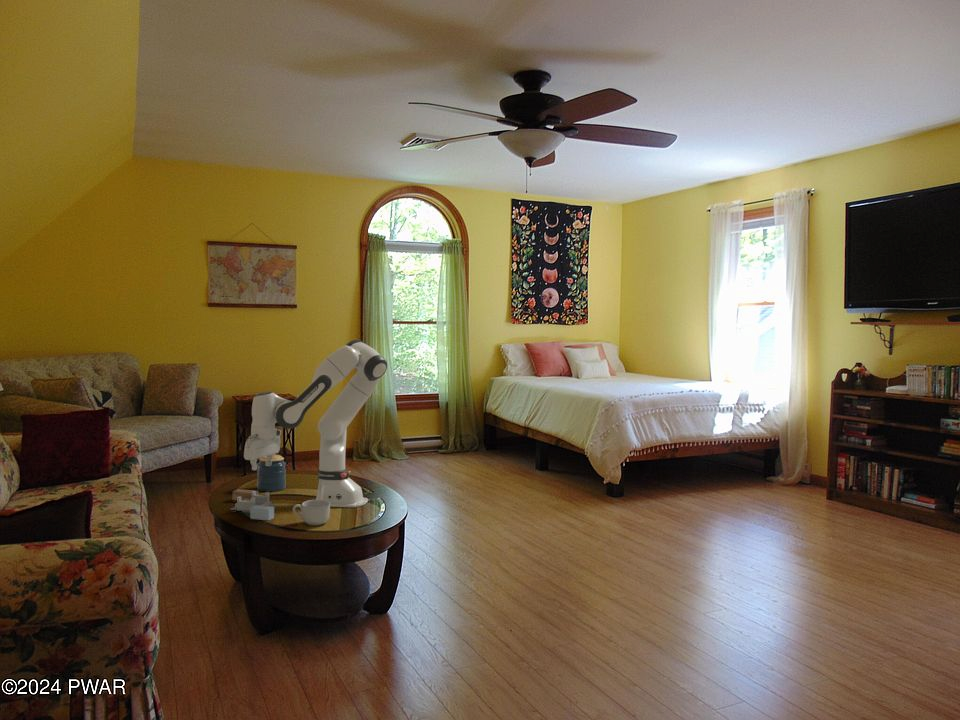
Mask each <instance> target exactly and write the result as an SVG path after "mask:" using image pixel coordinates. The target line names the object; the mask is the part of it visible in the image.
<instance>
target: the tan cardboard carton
mask: <svg viewBox="0 0 960 720" xmlns="http://www.w3.org/2000/svg"><path fill="white" fill-rule="evenodd" d="M252 491H254V490H253V489H252V490H251V489H250V490H249V489H239V488H237V489H235V490H233V491H232V501H233V500H237V497H241V501H244V500H251V498H252ZM255 491H256V495H259V490H255Z"/></svg>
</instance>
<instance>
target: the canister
mask: <svg viewBox="0 0 960 720" xmlns="http://www.w3.org/2000/svg"><path fill="white" fill-rule="evenodd" d="M267 458H268V457H267V456H265V457H262V458H258V461H259V462H258V463H257V465H258V470H256V472H257V474H256V475H257V476H256V477H257V478H256V479H257V481H256V482H257V483H256V488H257V491H259V492H278V491H282V490H284V489H286V487H287V482H286V479H287V477H286V476H287V475H286V473H287V472H286V471H287V470H286V465H287V462H286V461H284V460H285V457H283V456H282V455H280V454H274V455H273V459H272V461H271V466H266V461H267Z"/></svg>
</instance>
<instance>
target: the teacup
mask: <svg viewBox="0 0 960 720" xmlns="http://www.w3.org/2000/svg"><path fill="white" fill-rule="evenodd" d="M330 504H331V503H330V502H329V501H326V500H316V499H309V500H308V499H307V500H305V501H303V502H302V503H301V504H300V503H299V504H298V503H297V504H295V505H293V507H292V513H293V514H294V515H295V516H296V517H299V518H300V519H301V520H302V521H303V522H304V523H306V525H309V526H321V525H323V524H325V523H326V522H328V520H329V519H330V515H331V507H330ZM296 508H300V509H299V510H300V512H301V514H300V513H298V511H296V510H297V509H296Z"/></svg>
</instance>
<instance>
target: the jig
mask: <svg viewBox="0 0 960 720" xmlns="http://www.w3.org/2000/svg"><path fill="white" fill-rule="evenodd" d="M256 491H257V490H253V491H252V498H251V500H244V501H241V497H237V502H236V503H234V506H233V507H231V508H229V510H237V511H242V512H241V513H246V514H247V513H248V514H250V508H251V507H253V506H255V505H259V506H271V507H274V509H275V508H277V507H276V506H277V505H276V504H273V503H272V501H270V491H265V495H261V494H258V495H256Z"/></svg>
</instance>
